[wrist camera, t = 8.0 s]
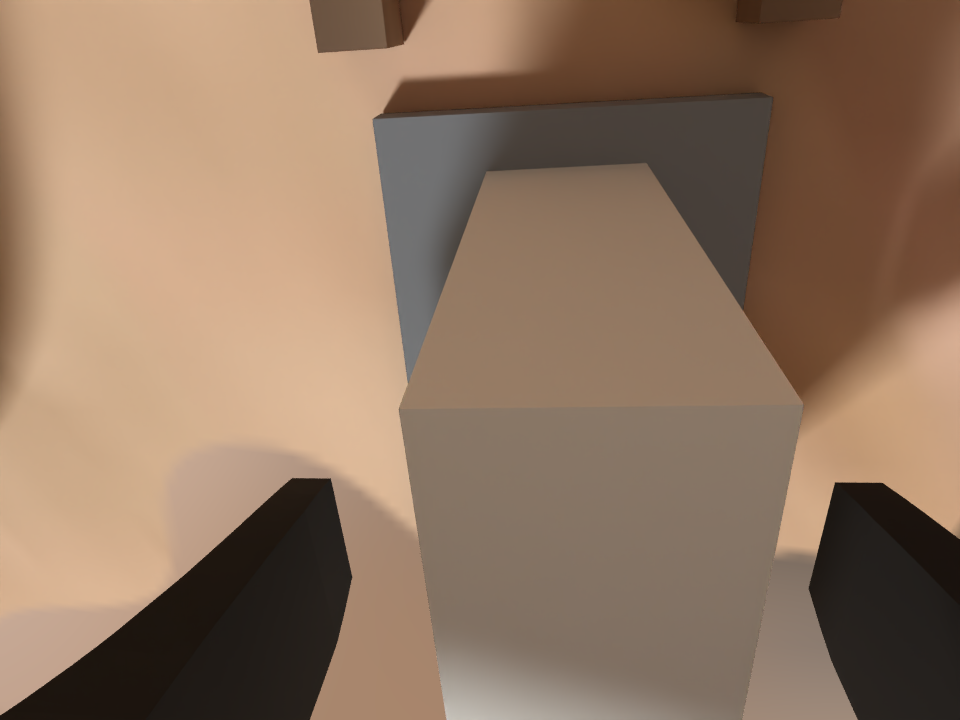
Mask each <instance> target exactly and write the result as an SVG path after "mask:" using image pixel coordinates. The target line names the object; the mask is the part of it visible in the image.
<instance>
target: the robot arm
mask: <svg viewBox="0 0 960 720" xmlns="http://www.w3.org/2000/svg"><path fill="white" fill-rule="evenodd" d="M351 580H352V574H351V570H350V565H349V561H348V556H347V552H346V546H345V543H344V538H343V533H342V528H341V523H340V519H339V515H338V510H337V505H336V501H335V496H334V491H333V487H332V482H331V479H315V478H309V479H306V478H292V479H291V480H290V481H288V482H287V483H286V484H285V485H284V486H283V487H281V488H280V489H279V490H278V491H277V492H276V493H275V494H274V495H273V496H271V497H270V498H269V499H268V500H267V501H266V502H265V503H264V504H263V505H261V506H260V507H259V508H258V509H257V510H256V511H255V512H254V513H253V514H252V515H251V516H250V517H249V518H247V519H246V520H245V521H244V522H243V523H242V524H241V525H240V526H239V527H238V528H236V529H235V530H234V531H233V532H232V533H231V534H230V535H229V536H228V537H227V538H225V539H224V540H223V541H222V542H221V543H220V544H219V545H218V546H217V547H215V548H214V549H213V550H212V551H211V552H210V553H209V554H208V555H206V556H205V557H204V558H203V559H202V560H201V561H200V562H199V563H197V564H196V565H195V566H194V567H193V568H192V569H191V570H190V571H188V572H187V573H186V574H185V575H184V576H183V577H182V578H180V579H179V580H178V581H177V582H176V583H174V584H173V585H172V586H171V587H170V588H168V589H167V590H166V591H165V592H164V593H162V594H161V595H160V596H159V597H157V598H156V599H155V600H154V601H153V602H151V603H150V604H149V605H148V606H147V607H145V608H144V609H143V610H142V611H140V612H139V613H138V614H137V615H136V616H134V617H133V618H132V619H131V620H130V621H128V622H127V623H126V624H125V625H123V626H122V627H121V628H120V629H119V630H117V631H116V632H115V633H114V634H112V635H111V636H110V637H109V638H107V639H106V640H105V641H103V642H102V643H101V644H100V645H98V646H97V647H96V648H94V649H93V650H92V651H90V652H89V653H88V654H86V655H85V656H84V657H82V658H81V659H80V660H78V661H77V662H76V663H74V664H73V665H72V666H70V667H69V668H67V669H66V670H65V671H63V672H62V673H61V674H59V675H58V676H56V677H55V678H54V679H52V680H51V681H49V682H48V683H47V684H45V685H44V686H43V687H41V688H40V689H38V690H37V691H35V692H34V693H33V694H31V695H30V696H28V697H27V698H25V699H24V700H23V701H21V702H20V703H18V704H17V705H15V706H14V707H12V708H11V709H9V710H8V711H7V712H5V713H3V714H2V715H0V720H310V717H311V715H312V712H313V709H314V706H315V703H316V701H317V698H318V695H319V693H320V690H321V687H322V684H323V681H324V679H325V676H326V673H327V670H328V667H329V664H330V662H331V659H332V656H333V653H334V650H335V647H336V644H337V641H338V637H339V633H340V628H341V625H342V621H343V616H344V612H345V607H346V603H347V598H348V594H349V589H350V585H351ZM809 591H810V594H811V598H812V601H813V604H814V608H815V611H816V614H817V618H818V621H819V624H820V628H821V631H822V634H823V637H824V640H825V643H826V646H827V648H828V652H829V655H830V658H831V661H832V663H833V665H834V667H835V670H836V672H837V674H838V677H839V679H840V681H841V683H842V685H843V688H844V690H845V692H846V694H847V696H848V699H849V701H850V703H851V705H852V707H853V710H854V712H855V714H856V717H857V719H858V720H960V539H958V538H957V537H956V536H954V535H953V534H952V533H950V532H949V531H948V530H946V529H945V528H944V527H942V526H941V525H940V524H938V523H937V522H936V521H934V520H933V519H932V518H930V517H929V516H928V515H926V514H925V513H924V512H922V511H921V510H920V509H918V508H917V507H916V506H914V505H913V504H911V503H910V502H909V501H907V500H906V499H905V498H903V497H902V496H900V495H899V494H898V493H896V492H895V491H893V490H892V489H890V488H889V487H887V486H886V485H885V484H883V483H835V485H834V489H833V493H832V497H831V501H830V505H829V509H828V513H827V517H826V521H825V525H824V529H823V533H822V537H821V541H820V545H819V549H818V553H817V557H816V561H815V565H814V569H813V573H812V577H811V581H810V586H809Z"/></svg>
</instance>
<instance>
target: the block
mask: <svg viewBox="0 0 960 720" xmlns="http://www.w3.org/2000/svg"><path fill="white" fill-rule="evenodd" d="M803 408H804V404H803V402H802V401H801V399H800V398H799V396H798V395H797V393H796V391H795V390H794V388H793V387H792V385H791V384H790V382H789V381H788V379H787V378H786V376H785V375H784V373H783V372H782V370H781V368H780V367H779V365H778V364H777V362H776V361H775V359H774V358H773V356H772V355H771V353H770V352H769V350H768V349H767V347H766V345H765V344H764V342H763V341H762V339H761V338H760V336H759V335H758V333H757V332H756V330H755V329H754V327H753V326H752V324H751V322H750V321H749V319H748V318H747V316H746V315H745V313H744V312H743V310H742V309H741V307H740V306H739V304H738V303H737V301H736V299H735V298H734V296H733V295H732V293H731V292H730V290H729V289H728V287H727V286H726V284H725V283H724V281H723V280H722V278H721V276H720V275H719V273H718V272H717V270H716V269H715V267H714V266H713V264H712V263H711V261H710V260H709V258H708V257H707V255H706V253H705V252H704V250H703V249H702V247H701V246H700V244H699V243H698V241H697V240H696V238H695V237H694V235H693V233H692V232H691V230H690V229H689V227H688V226H687V224H686V223H685V221H684V220H683V218H682V217H681V215H680V214H679V212H678V210H677V209H676V207H675V206H674V204H673V203H672V201H671V200H670V198H669V197H668V195H667V194H666V192H665V191H664V189H663V187H662V186H661V184H660V183H659V181H658V180H657V178H656V177H655V175H654V174H653V172H652V171H651V169H650V168H649V166H648V164H647V163H637V164H617V165H598V166H579V167H560V168H541V169H522V170H503V171H486V174H485V177H484V179H483V182H482V185H481V188H480V190H479V193H478V196H477V198H476V201H475V204H474V207H473V209H472V212H471V215H470V217H469V220H468V223H467V226H466V228H465V231H464V234H463V236H462V239H461V242H460V245H459V247H458V250H457V253H456V255H455V258H454V261H453V264H452V266H451V269H450V272H449V274H448V277H447V280H446V282H445V285H444V288H443V291H442V293H441V296H440V299H439V301H438V304H437V307H436V310H435V312H434V315H433V318H432V320H431V323H430V326H429V329H428V331H427V334H426V337H425V339H424V342H423V345H422V348H421V350H420V353H419V356H418V358H417V361H416V364H415V367H414V369H413V372H412V375H411V377H410V380H409V383H408V386H407V388H406V391H405V394H404V396H403V399H402V402H401V405H400V407H399V414H400V420H401V427H402V433H403V440H404V446H405V453H406V459H407V466H408V472H409V479H410V485H411V492H412V498H413V505H414V511H415V518H416V524H417V531H418V537H419V544H420V550H421V557H422V563H423V569H424V576H425V583H426V589H427V596H428V602H429V609H430V615H431V622H432V628H433V635H434V642H435V648H436V655H437V661H438V667H439V674H440V681H441V687H442V693H443V700H444V707H445V713H446V720H742V718H743V712H744V707H745V703H746V698H747V693H748V688H749V682H750V677H751V672H752V667H753V661H754V657H755V651H756V647H757V642H758V637H759V631H760V627H761V621H762V616H763V611H764V606H765V601H766V596H767V591H768V586H769V580H770V576H771V571H772V566H773V561H774V555H775V550H776V545H777V540H778V535H779V530H780V525H781V520H782V515H783V510H784V505H785V500H786V495H787V489H788V484H789V479H790V474H791V469H792V464H793V459H794V454H795V449H796V444H797V439H798V434H799V428H800V423H801V418H802V413H803Z"/></svg>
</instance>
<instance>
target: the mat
mask: <svg viewBox="0 0 960 720" xmlns="http://www.w3.org/2000/svg"><path fill="white" fill-rule="evenodd" d="M772 103H773V97H771V96H769V95H766V94H763V93H746V94H728V95H710V96H692V97H674V98H656V99H638V100H620V101H602V102H584V103H565V104H547V105H529V106H511V107H493V108H475V109H457V110H439V111H421V112H403V113H385V114H380V115H378V116H377V117H375V118H374V119H373V126H374V134H375V141H376V149H377V156H378V164H379V171H380V179H381V186H382V193H383V201H384V208H385V216H386V223H387V231H388V238H389V246H390V253H391V261H392V268H393V276H394V283H395V290H396V298H397V305H398V313H399V320H400V328H401V335H402V343H403V350H404V358H405V365H406V372H407V380H408V383H409V380H410V377H411V375H412V372H413V369H414V367H415V364H416V361H417V358H418V356H419V353H420V350H421V348H422V345H423V342H424V339H425V337H426V334H427V331H428V329H429V326H430V323H431V320H432V318H433V315H434V312H435V310H436V307H437V304H438V301H439V299H440V296H441V293H442V291H443V288H444V285H445V282H446V280H447V277H448V274H449V272H450V269H451V266H452V264H453V261H454V258H455V255H456V253H457V250H458V247H459V245H460V242H461V239H462V236H463V234H464V231H465V228H466V226H467V223H468V220H469V217H470V215H471V212H472V209H473V207H474V204H475V201H476V198H477V196H478V193H479V190H480V188H481V185H482V182H483V179H484V177H485V174H486V171H503V170H522V169H541V168H560V167H579V166H598V165H617V164H637V163H647V164H648V166H649V168H650V169H651V171H652V172H653V174H654V175H655V177H656V178H657V180H658V181H659V183H660V184H661V186H662V187H663V189H664V191H665V192H666V194H667V195H668V197H669V198H670V200H671V201H672V203H673V204H674V206H675V207H676V209H677V210H678V212H679V214H680V215H681V217H682V218H683V220H684V221H685V223H686V224H687V226H688V227H689V229H690V230H691V232H692V233H693V235H694V237H695V238H696V240H697V241H698V243H699V244H700V246H701V247H702V249H703V250H704V252H705V253H706V255H707V257H708V258H709V260H710V261H711V263H712V264H713V266H714V267H715V269H716V270H717V272H718V273H719V275H720V276H721V278H722V280H723V281H724V283H725V284H726V286H727V287H728V289H729V290H730V292H731V293H732V295H733V296H734V298H735V299H736V301H737V303H738V304H739V306H740V307H741V309H742V310H743V307H744V300H745V293H746V286H747V279H748V272H749V265H750V258H751V251H752V244H753V237H754V230H755V223H756V216H757V209H758V201H759V194H760V187H761V180H762V173H763V166H764V159H765V152H766V145H767V138H768V131H769V124H770V117H771V110H772Z"/></svg>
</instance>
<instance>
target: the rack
mask: <svg viewBox="0 0 960 720" xmlns="http://www.w3.org/2000/svg"><path fill="white" fill-rule="evenodd" d="M310 6H311V13H312V19H313V25H314V31H315V37H316V43H317V49H318V53H323V52H338V51H353V50H368V49H383V48H390V47H394V46H398V45H402V44H404V42H403V32H402V23H401V14H400V4H399V0H310ZM841 6H842V0H738V6H737V15H736V22H746V23H773V22H788V21H803V20H818V19H833V18H839V17H840V12H841Z"/></svg>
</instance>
